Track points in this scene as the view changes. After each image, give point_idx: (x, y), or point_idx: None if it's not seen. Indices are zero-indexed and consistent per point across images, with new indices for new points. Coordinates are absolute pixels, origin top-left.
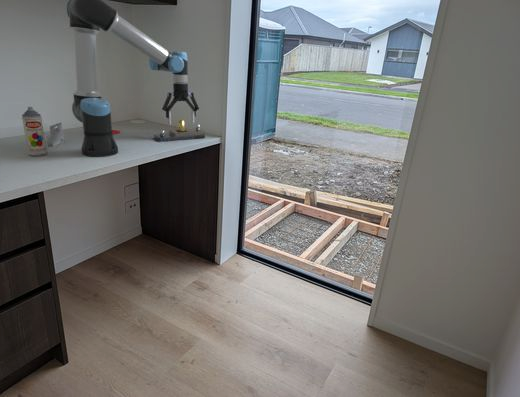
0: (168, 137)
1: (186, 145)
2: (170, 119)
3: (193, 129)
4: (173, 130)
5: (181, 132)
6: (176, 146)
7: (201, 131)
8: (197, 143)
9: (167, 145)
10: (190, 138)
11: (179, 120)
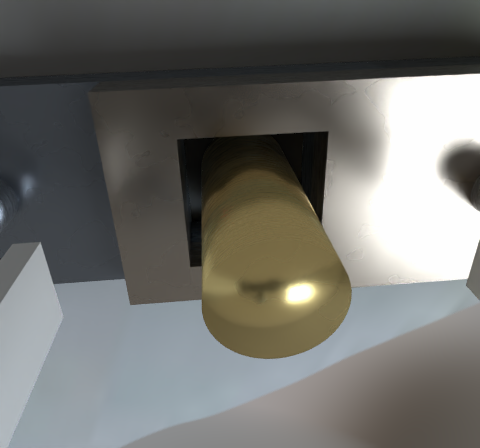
0: (55, 282)
1: (185, 406)
2: (23, 388)
3: (467, 139)
4: (152, 141)
5: None
6: (101, 416)
7: None
8: (294, 373)
9: None
10: None
11: (231, 324)
